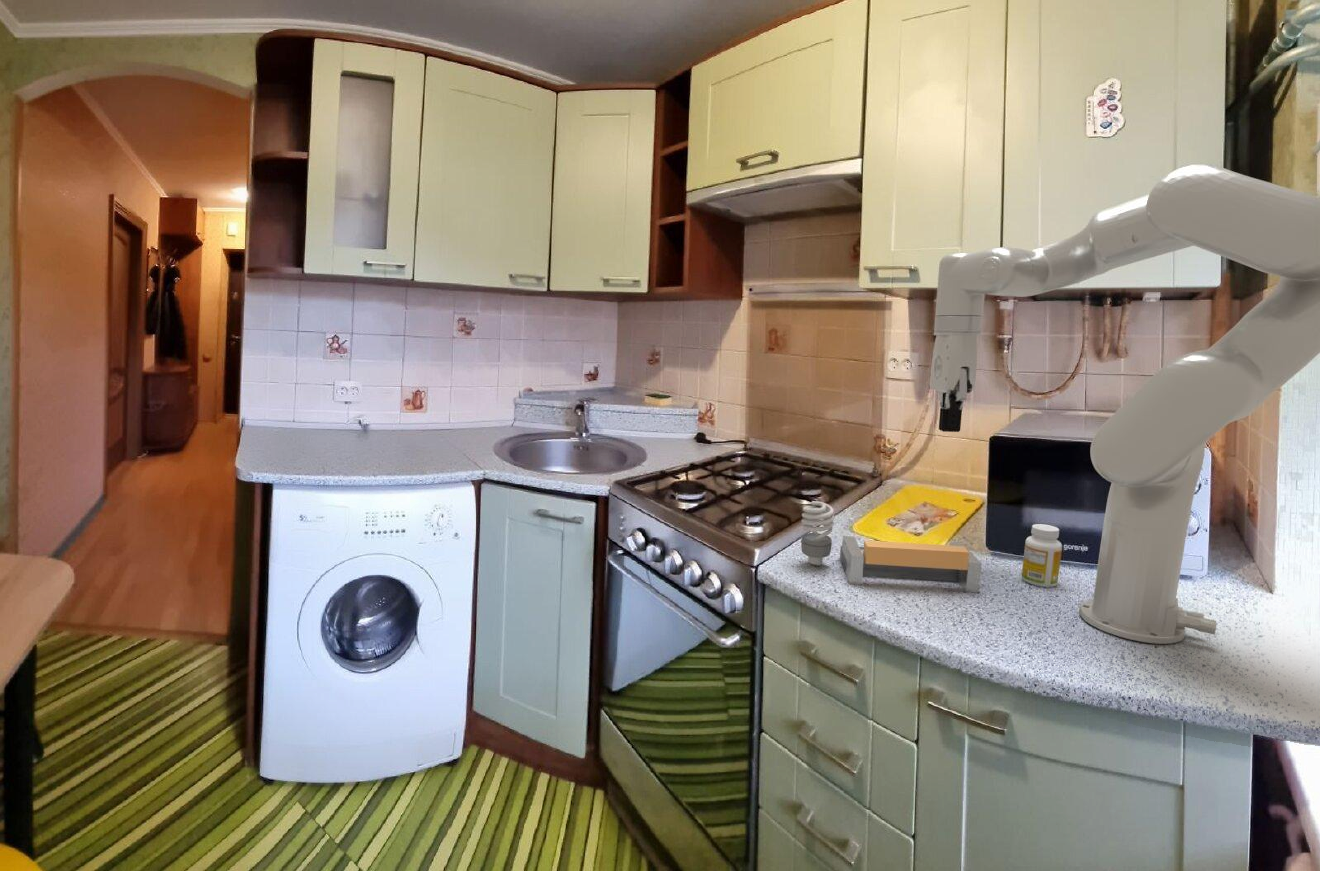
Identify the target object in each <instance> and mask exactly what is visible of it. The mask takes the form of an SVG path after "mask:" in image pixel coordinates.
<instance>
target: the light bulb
mask: <svg viewBox="0 0 1320 871" xmlns="http://www.w3.org/2000/svg"><path fill="white" fill-rule="evenodd" d="M811 505H812V506H811ZM802 511H803V512H802V513H801V517H802V519H801V523H802V529H803V530H804V531H807V532H808V533H804V534H802V536H801V539H800V542H801V543H800V544H801V546H800V547H801V553H802V554H803V555H805V556H806V557H807V558H808V559H807V560H808V562H809V564H811V565H812V566H814V567H816V566H819V565H821V564H822V563H823V559H824V558H826V557H829V556H830V554H831V552H832V551H831V550H832V547H833V546H832V545H833V542H832V540H833V539H832V538H831V537H830V536H829V535H830V534H831V533H832V531H833V527H834V524H835V522H834V520H835V515H834V512H835V510H834V507H832V506H831V505H830V504H828V503H825V502H822V501H818V500H812V501H811V502H810V505H807V506H803V507H802ZM815 526H816V527H815ZM819 532H822V533H819Z"/></svg>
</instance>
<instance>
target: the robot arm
mask: <svg viewBox="0 0 1320 871" xmlns="http://www.w3.org/2000/svg"><path fill="white" fill-rule="evenodd" d="M1190 247H1197V248H1200V249H1202V250H1205V251H1207V252H1209V253H1213V254H1215V255H1218V256H1220V257H1223V258H1226V259H1229V260H1231V261H1234V262H1237V263H1239V264H1240V265H1244V266H1246V267H1249V268H1252V269H1255V270H1257V271H1260V272H1263V273H1265V274H1268V275H1271V276H1275V277H1276V276H1277V277H1279V281H1278V283H1277V284H1276V286H1275V287H1274V289H1273V290H1272V291H1271V292H1269V294H1268V295H1267V296H1266V297H1264V298H1263V299H1262V300H1261V301H1260V302H1258V303H1257V304H1256V305H1255V306H1254V307H1252V309H1250V310H1249V311H1248V312H1247V313H1246V314H1244V315H1243V317H1242V318H1241V319H1240V320H1239V321H1238V322H1237V323H1236V324H1235V325H1234V326H1233V327H1232V328H1230V329H1229V330H1228V331H1227V332H1226V333H1225V334H1224V335H1223V336H1222V337H1220V339H1218V340H1217V341H1216V342H1215V343H1214V344H1212V345H1211V346H1210V347H1209V348H1206V349H1203V350H1202V349H1201V350H1195V351H1191V352H1187V353H1185V354H1183V355H1179V356H1178V357H1176V358H1174V359H1173V360H1171V361H1169V362H1168V363H1166V364H1165V365H1164V366H1163V367H1162V368H1160V369H1159V370H1158V371H1157V372H1155V374H1153V375H1152V376H1151V377H1150V378H1149V379H1148V380H1146V382H1145V383H1144V384H1143V385H1142V386H1140V387H1139V389H1138V390H1137V391H1136V392H1135V393H1133V395H1131V396H1130V398H1129V399H1127V401H1125V402H1124V403H1123V404H1122V405H1121V406H1120V407H1119V408H1118V409H1117V410H1116V411H1115V412H1114V413H1113V414H1112V415H1111V416H1110V417H1109V418H1108V419H1107V420H1105V422H1104V423H1103V424H1102V425H1100V427H1099V428H1098V430H1097V431H1096V432H1095V434H1094V436H1093V438H1092V441H1091V443H1090V449H1089V450H1090V451H1089V452H1090V453H1089V454H1090V460H1091V463H1092V465H1093V468H1094V470H1095V471H1096V472H1097V473H1098V474H1099V475H1100V476H1101V477H1102V478H1103V479H1105V480H1106V481H1107V482H1109V483H1110V486H1109V491H1108V495H1107V499H1106V500H1107V501H1106V506H1105V507H1106V508H1105V514H1104V518H1103V525H1102V532H1101V539H1100V540H1101V541H1100V547H1099V553H1098V561H1097V562H1098V563H1097V568H1096V575H1095V576H1096V577H1095V584H1094V591H1093V598H1092V599H1088V600H1085V601H1083V602H1082V603H1080V604H1079V609H1078V610H1079V611H1078V613H1079V615H1080V617H1081V618H1082V619H1083V621H1085V622H1086V623H1088V624H1089V625H1091V626H1092V627H1094V628H1096V629H1098V630H1100V631H1102V632H1105V633H1107V634H1109V635H1113V636H1116V637H1120V638H1124V639H1127V640H1131V641H1135V642H1142V643H1146V644H1147V643H1148V644H1155V645H1156V644H1158V645H1162V644H1163V645H1166V644H1167V645H1168V644H1175V643H1178V642H1181V641H1183V640H1184V639H1185V634H1186V629H1187V628H1188V629H1191V630H1195V631H1198V632H1201V633H1204V634H1205V633H1206V634H1209V635H1214V636H1215V634H1216V629H1217V620H1214V619H1209V618H1205V617H1204V616H1205V613H1202V612H1201V613H1200V612H1195V611H1189V610H1186V609H1185V610H1184V609H1183V607H1180V606H1179V599H1178V598H1177V594H1178V588H1179V582H1180V577H1181V570H1182V564H1183V557H1184V551H1185V544H1186V539H1187V533H1188V530H1189V523H1190V516H1191V511H1192V506H1193V501H1194V496H1195V492H1196V489H1197V484H1198V482H1199V479H1200V476H1201V471H1202V468H1203V464H1204V458H1205V449H1206V448H1205V444H1206V443H1207V442H1209V440H1211V438H1212V437H1214V436H1215V435H1217V433H1218V432H1220V431H1222V429H1224V427H1226V426H1227V425H1228V424H1230V423H1233V422H1236V421H1239V420H1242V419H1244V418H1246V417H1248V416H1250V415H1252V414H1253V413H1254V412H1256V411H1257V410H1259V409H1260V407H1261V406H1262V405H1263V404H1264V403H1265V402H1267V400H1268V399H1269V398H1270V397H1271V396H1273V395H1274V394H1275V393H1276V392H1277V391H1278V390H1279V389H1280V388H1282V387H1283V386H1284V385H1286V383H1287V382H1288V381H1290V380H1291V379H1292V378H1293V377H1295V376H1296V375H1297V374H1298V373H1299V372H1300V371H1301V370H1302V369H1304V368H1305V367H1306V366H1307V365H1309V363H1311V362H1312V361H1313V360H1314V359H1315V357H1317V356H1318V355H1319V354H1320V196H1316V195H1312V194H1310V193H1306V192H1303V191H1299V190H1296V189H1292V188H1289V187H1285V186H1282V185H1278V184H1276V183H1275V184H1274V183H1272V182H1269V181H1265V180H1263V179H1262V180H1261V179H1258V178H1255V177H1251V176H1248V175H1244V174H1242V173H1238V172H1235V171H1232V170H1230V169H1227V168H1225V167H1222V166H1219V165H1215V164H1211V163H1194V164H1189V165H1186V166H1182V167H1179V168H1178V169H1175V170H1173V171H1171V172H1169V173H1168V174H1166V175H1165V176H1164V177H1163V178H1162V179H1159V181H1158V182H1157V183H1156V184H1155V185H1154V186H1153V188H1152V189H1151V191H1150V192H1149V193H1147V194H1145V195H1142V196H1139V197H1136V198H1133V199H1131V200H1127V201H1125V202H1122V203H1119V204H1116V205H1114V206H1111V207H1108V208H1104V209H1102V210H1099V211H1098V212H1096V213H1095V214H1094V215H1092V216H1091V218H1090V219H1089V221H1088V222H1087V225H1086V226H1085V228H1083V229H1082V230H1081V231H1079V232H1077V233H1076V234H1074V235H1072V236H1070V237H1066V238H1065V239H1063V240H1060V241H1057V242H1054V243H1051V244H1049V245H1045V246H1042V247H1041V246H1040V247H1038V248H1036V249H1031V250H1029V249H1028V250H1027V249H1022V248H1013V247H1006V246H1000V247H993V248H988V249H985V250H981V251H977V252H976V251H975V252H957V253H956V252H954V253H949V254H947V255H945V256H943V257H941V260H940V261H939V264H938V265H939V266H938V278H937V290H936V301H935V302H936V304H935V316H934V317H935V318H934V328H933V330H934V332H933V335H934V336H936V337H935V342H934V345H933V346H934V347H933V349H932V350H933V351H932V358H931V364H930V365H931V366H930V375H929V383H928V385H929V387H930V389H932V390H934V391H937V392H938V394H939V398H940V400H939V407H940V409H939V418H938V430H940V431H942V432H944V433H945V432H946V433H947V432H948V433H950V432H952V433H959V432H960V431H961V427H962V426H961V425H962V412H963V408H964V402H965V401H967V399H968V394H969V393H970V394H971V393H972V392H973V391H974V390H975V387H976V378H977V370H978V369H977V368H978V367H977V365H978V336H982V329H983V317H984V306H985V298H986V295H989V296H999V297H1001V296H1002V297H1017V298H1018V297H1019V298H1022V297H1023V298H1026V297H1032V296H1037V295H1040V294H1045V293H1047V292H1051V291H1054V290H1055V291H1056V290H1057V289H1058V290H1059V289H1062V288H1065V287H1069V286H1072V285H1075V284H1079V283H1080V282H1084V281H1087V280H1089V279H1092V278H1094V277H1096V276H1100V275H1103V274H1105V273H1108V272H1110V271H1112V270H1113V269H1117V268H1121V267H1124V266H1128V265H1131V264H1134V263H1137V262H1141V261H1145V260H1147V259H1151V258H1155V257H1158V256H1162V255H1166V254H1168V253H1173V252H1176V251H1179V250H1184V249H1187V248H1190Z"/></svg>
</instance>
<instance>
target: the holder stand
mask: <svg viewBox="0 0 1320 871" xmlns="http://www.w3.org/2000/svg"><path fill="white" fill-rule="evenodd" d="M948 545H951V546H964V547H965V548H966V549H967V550H968V551H969V562H968V570H959V569H942V568H926V567H909V566H893V565H877V564H866V563H865V561H864V556H863V549H864V546H860V545H859V544H858V542H857V540H856V538H855V536H852V535H851V536H850V535H849V536H848V535H842V542H841V545H840V550H839V551H840V552H839V560H840V563H841V566H842V568H843V571H844V573H845V575H846V579H847V580H848V584H849V585H858V586H861V585H863V577H871V578H872V577H873V578H874V577H875V578H890V579H903V580H904V579H906V580H918V581H919V580H920V581H935V582H936V581H937V582H951V583H952V582H953V583H958V584H959V585H960V586H961V587H962V590H964V591H965V593H967V592H970V593H979V591H980V583H981V573H982V565H983V564H982V562H981V561H980V560H979V559H978V558H977V557H976V556H975V554H973V553H972V552H971V551H970V549H968V547H966V545H965V544H964V543H963V542H958V541H957V542H956V541H949V544H948Z"/></svg>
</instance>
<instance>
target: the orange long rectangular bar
mask: <svg viewBox="0 0 1320 871" xmlns="http://www.w3.org/2000/svg"><path fill="white" fill-rule="evenodd" d="M964 546H965V545H964ZM964 546H951V545H949V544H947V545H946V544H931V543H912V542H911V543H910V542H896V541H895V542H893V541H879V540H878V541H877V540H875V541H874V540H863V547H864V549H863V556H864V561H865V563H866V564H877V565H893V566H909V567H926V568H942V569H959V570H968V562H969V551H970V550H969V549H968V548H967V547H966V546H965V547H966V548H967V549H968V550H969V551H968V550H967V549H966V548H965V547H964Z"/></svg>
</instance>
